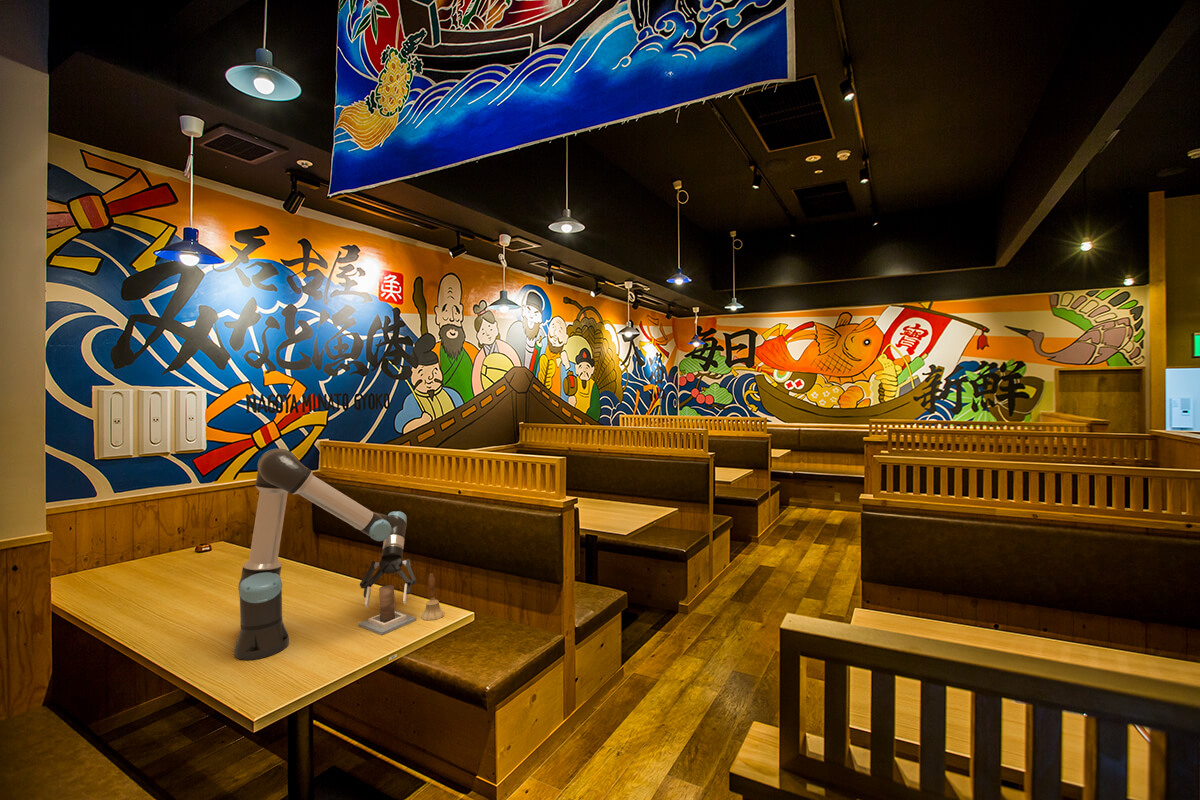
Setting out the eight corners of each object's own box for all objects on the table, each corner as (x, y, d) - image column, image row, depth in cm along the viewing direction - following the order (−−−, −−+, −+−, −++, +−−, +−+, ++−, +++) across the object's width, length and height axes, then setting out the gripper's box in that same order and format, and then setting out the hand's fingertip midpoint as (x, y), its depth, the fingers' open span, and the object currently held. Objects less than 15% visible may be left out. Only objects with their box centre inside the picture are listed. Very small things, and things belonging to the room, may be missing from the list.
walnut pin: (385, 624, 189) (384, 591, 188) (377, 621, 191) (376, 588, 191) (398, 619, 193) (396, 586, 192) (389, 615, 196) (388, 584, 195)
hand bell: (431, 622, 192) (430, 579, 192) (416, 617, 197) (415, 575, 196) (449, 614, 199) (448, 572, 199) (434, 609, 204) (433, 568, 203)
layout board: (381, 635, 183) (381, 629, 182) (358, 625, 190) (358, 619, 190) (416, 620, 194) (415, 614, 194) (392, 611, 202) (392, 606, 202)
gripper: (426, 552, 209) (422, 605, 195) (361, 556, 205) (351, 611, 190) (424, 542, 204) (420, 596, 189) (357, 547, 199) (347, 602, 185)
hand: (385, 604), depth 190 cm, fingers open, 12 cm apart
